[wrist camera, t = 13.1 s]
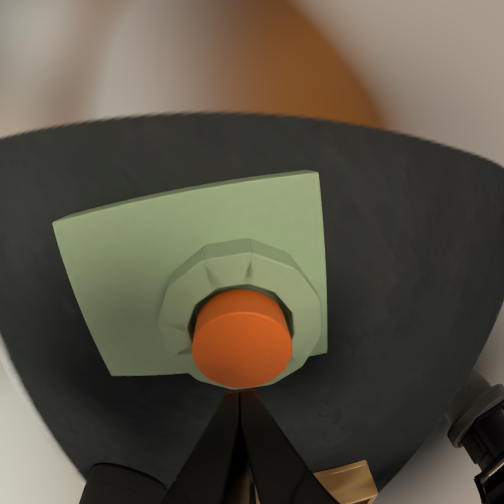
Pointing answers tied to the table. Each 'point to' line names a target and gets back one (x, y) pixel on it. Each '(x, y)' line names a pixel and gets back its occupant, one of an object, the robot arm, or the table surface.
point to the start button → (241, 339)
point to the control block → (197, 267)
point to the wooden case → (347, 483)
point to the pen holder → (121, 487)
